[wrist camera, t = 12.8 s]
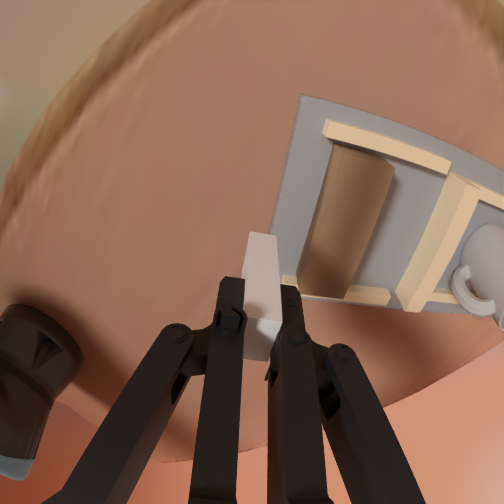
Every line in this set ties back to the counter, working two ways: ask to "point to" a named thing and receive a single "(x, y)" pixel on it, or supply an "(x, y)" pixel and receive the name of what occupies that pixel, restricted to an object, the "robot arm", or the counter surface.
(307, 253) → the brown rounded bar
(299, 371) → the robot arm
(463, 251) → the cup
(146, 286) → the counter surface
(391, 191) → the jig
